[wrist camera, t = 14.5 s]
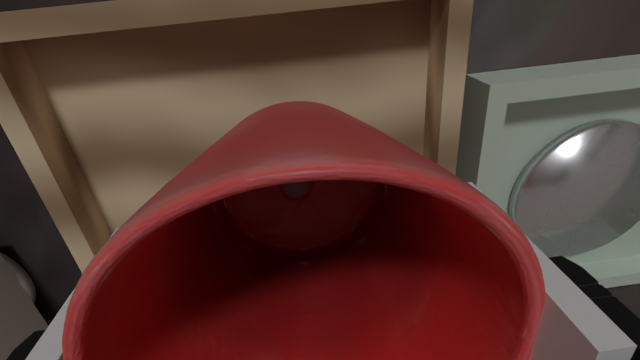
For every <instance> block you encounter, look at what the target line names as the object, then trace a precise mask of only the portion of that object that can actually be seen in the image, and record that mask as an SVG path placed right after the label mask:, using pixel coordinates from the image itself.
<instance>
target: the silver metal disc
mask: <svg viewBox="0 0 640 360" xmlns="http://www.w3.org/2000/svg"><path fill="white" fill-rule="evenodd" d="M509 214H510V217H511V219H512V220H513V221H514V222H515V223H516V224H517V226H518V227H519V228H520V229H521V231H522V232H523V233H524V234H525V235H526V236H527V237H528V238H529V239H530V240H531V241H532V242H533V243H534V244H535V245H536V246H537V247H538V248H539V249H540V250H541V251H542V252H543V253H545V254H548V255H555V256H568V255H576V254H581V253H585V252H588V251H591V250H594V249H597V248H599V247H601V246H603V245H606V244H608V243H609V242H611V241H613V240H615V239H616V238H618V237H620V236H621V235H622V234H624V233H625V232H627V231H628V230H629V229H630V228H632V227H633V226H634V225H635V224H636V223H637V222H638V221H640V125H639V124H637V123H634V122H631V121H627V120H623V119H613V118H612V119H600V120H595V121H591V122H587V123H584V124H581V125H579V126H576V127H574V128H572V129H570V130H568V131H566V132H564V133H562V134H561V135H559V136H558V137H556V138H555V139H553V140H552V141H550V142H549V143H548V144H547V145H545V146H544V147H543V148H542V149H541V150H540V151H539V152H538V153H537V154H536V155H535V156H534V157H533V158H532V159H531V160H530V161H529V162H528V164H527V165H526V166H525V168H524V169H523V171H522V172H521V174H520V175H519V177H518V179H517V181H516V183H515V186H514V188H513V190H512V194H511V198H510V205H509Z"/></svg>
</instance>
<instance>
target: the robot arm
mask: <svg viewBox="0 0 640 360" xmlns="http://www.w3.org/2000/svg"><path fill="white" fill-rule="evenodd" d="M468 184H470V185H471V186H473V187H474V188H476V189H477V190H478V191H480V190H479V189H478V188H477V187H476V186H475V185H474V184H473V183H472V182H468ZM480 192H481V191H480ZM481 193H482V192H481ZM118 229H119V228H116V230H115V231H114V233H115V232H116V231H117V230H118ZM114 233H113V234H114ZM113 234H112V235H113ZM112 235H111V236H112ZM525 236H526V235H525ZM526 237H527V236H526ZM109 239H110V238H109ZM527 239H528V240H529V242H530V244H531V246H532V248H533V250H534V252H535V253H536V255H537V257H538V260H539V263H540V266H541V269H542V274H543V279H544V284H545V302H544V307H543V311H542V315H541V320H540V324H539V328H538V331H537V335H536V338H535V342H534V345H533V348H532V352H531V355H530V358H529V360H640V319H639V318H638V317H637V316H635V315H634V314H633V313H632V312H631V311H630V310H629V309H628V308H627V307H626V306H624V305H623V304H622V303H621V302H620V301H619V300H618V299H617V298H616V297H612V294H611V293H610V292H609V291H608V290H607V289H606V288H605V287H604V286H603V285H599V283H598V281H597V280H596V279H595V278H594V277H593V276H592V275H590V274H589V273H588V272H587V271H586V270H585V269H584V268H583V267H581V266H579V265H578V264H576V263H574V262H572V261H570V260H569V259H567V258H565V257H563V256H556V257H547V256H546V255H545V254H544V253H543V252H542V251H541V250H540V249H539V248H538V247H537V246H536V245H535V244H534V243H533V242H532V241H531V240H530V239H529V238H528V237H527ZM74 290H75V289H74ZM74 290H73V292H74ZM73 292H72V293H71V295H70V296H69V297H68V299H67V300H66V302H65V303H64V305H63V306H62V307H61V309H60V310H59V312H58V313H57V315H56V316H55V318H54V319H53V320H52V322H51V323H50V325H49V326H48V328H47V329H46V330H40V331H34V332H33V333H32V334H31V335H30V336H29V337H28V338H27V339H25V340H24V341H23V342H22V343H21V344H20V345H19V346H17V347H16V348H15V349H14V350H13V351H12V353H11V354H10V355H9V357H8V358H7V359H6V360H63V353H62V335H63V329H64V323H65V318H66V313H67V309H68V305H69V302H70V299H71V297H72V295H73Z"/></svg>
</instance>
